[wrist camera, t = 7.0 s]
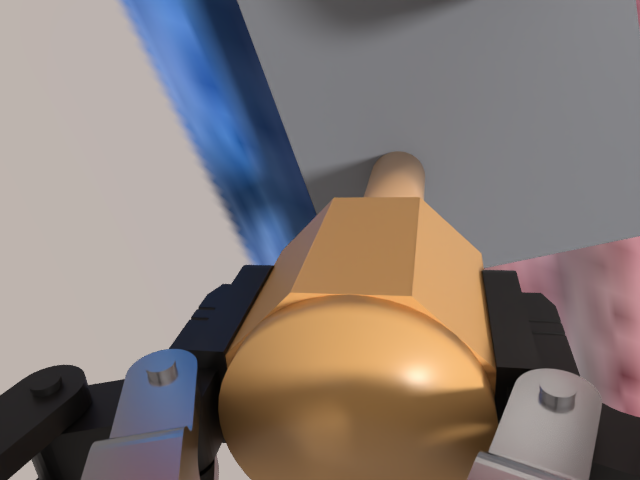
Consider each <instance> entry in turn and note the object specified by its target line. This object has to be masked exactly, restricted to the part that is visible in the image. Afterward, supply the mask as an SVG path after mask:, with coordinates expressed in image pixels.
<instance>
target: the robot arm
mask: <svg viewBox="0 0 640 480" xmlns="http://www.w3.org/2000/svg"><path fill="white" fill-rule="evenodd" d="M273 268H274V266H271V265H244V266H243V267H242V269H241V270H240V272H239V273H238V275H237V276H236V278H235V279H234V281H233V282H232V284H222V285H221V286H220V287H218V288H216V289H215V290H214V291H212V292H211V293H209V294H208V295H207V296H206V298H205V299H204V300H203V302H202V303H201V304H200V306H199V309H198V310H196V311H195V313H194V314H193V316H192V317H191V320H189V321H188V323H187V324H186V325H185V327H184V328H183V330H182V331H181V332H180V334H179V335H178V337H177V338H176V340H175V341H174V343H173V344H172V345H171V347H170V348H169V349H166V350H160V351H157V352H153V353H151V354H148V355H146V356H144V357H142V358H141V359H139V360H138V361H136V362H135V363H134V364H133V365H132V366H131V367H130V368H129V370H128V371H127V374H126V377H125V379H123V380H118V381H111V382H105V383H99V384H93V385H88V384H87V380H86V377H85V374H84V372H83V370H82V369H80V368H79V367H76V366H72V365H58V366H52V367H48V368H45V369H42V370H39V371H37V372H35V373H33V374H31V375H29V376H27V377H26V378H24V379H23V380H21V381H20V382H18V383H17V384H16V385H14V386H13V387H12V388H10V389H9V390H7V391H6V392H5V393H3V394H2V395H0V480H8V479H9V478H10V477H11V476H12V475H13V474H15V473H16V472H17V471H18V470H19V469H21V468H22V467H23V466H24V465H25V464H26V463H27V462H29V461H30V460H31V459H32V462H33V464H34V467H35V470H36V472H37V474H38V477H39V478H38V479H36V480H218V477H219V476H218V475H219V466H218V460H217V455H216V454H217V452H218V450H219V448H220V445H221V443H226V441H225V439H224V437H223V433H222V429H221V426H220V420H219V412H218V405H219V393H220V389H221V384H222V381H223V379H224V376H225V374H226V372H227V369H228V368H227V363H226V357H225V355H226V353H227V351H228V349H229V348H230V346H231V344H232V342H233V340H234V339H235V337H236V335H237V333H238V331H239V329H240V328H241V326H242V324H243V322H244V320H245V319H246V317H247V315H248V313H249V311H250V310H251V308H252V306H253V304H254V302H255V301H256V299H257V297H258V295H259V293H260V292H261V290H262V288H263V286H264V284H265V283H266V281H267V279H268V277H269V275H270V273H271V272H272V270H273ZM482 275H483V281H484V288H485V295H486V302H487V309H488V316H489V323H490V329H491V336H492V343H493V350H494V357H495V364H496V384H495V405H496V411H497V419H498V428H497V431H496V433H495V436H494V439H493V441H492V444H491V446H490V449H489V451H488V452H486V451H483V450H481V451H480V452H479V453H478V455H477V457H476V459H475V461H474V464H473V466H472V468H471V471H470V473H469V476H468V478H467V480H640V417H636V416H632V415H629V414H626V413H623V412H620V411H617V410H615V409H613V408H611V407H609V406H607V405H605V404H603V403H602V399H601V396H600V394H599V392H598V391H597V389H596V388H595V387H594V386H593V385H592V384H591V383H589V382H588V381H587V380H585V379H584V378H582V377H580V374H579V372H578V369H577V366H576V363H575V360H574V357H573V354H572V352H571V349H570V346H569V343H568V340H567V337H566V336H565V332H564V329H563V326H562V324H561V320H560V317H559V315H558V312H557V309H556V306H555V305H554V304H553V303H552V302H550V301H549V300H548V299H547V298H546V297H545V296H544V295H543V294H541V293H522V292H521V288H520V284H519V280H518V277H517V273H516V271H504V270H482Z"/></svg>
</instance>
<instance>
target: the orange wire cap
mask: <svg viewBox="0 0 640 480" xmlns="http://www.w3.org/2000/svg"><path fill="white" fill-rule="evenodd" d="M482 270H484V267H483V261H482V254H481V253H480V252H479V251H478V250H477V249H476V248H475V247H474V246H473V245H472V244H471V243H470V242H468V241H467V240H466V239H465V238H464V237H463V236H462V235H461V234H460V233H459V232H457V231H456V230H455V229H454V228H453V227H452V226H451V225H450V224H449V223H448V222H447V221H445V220H444V219H443V218H442V217H441V216H440V215H439V214H438V213H437V212H436V211H435V210H433V209H432V208H431V207H430V206H429V205H428V204H427V203H426V202H425V201H424V200H423V199H421V198H420V197H352V198H333V199H332V200H331V201H330V202H329V203H328V204H327V205H326V206H325V207H324V208H323V210H322V211H321V212H320V213H319V214H318V215H317V216H316V217H315V218H314V219H313V220H312V221H311V222H310V223H309V224H308V225H307V226H306V227H305V228H304V229H303V230H302V231H301V232H300V233H299V234H298V235H297V236H296V237H295V238H294V239H293V240H292V241H291V242H290V243H289V244H288V245H287V246H286V247H285V249H284V250H282V252H281V254H280V256H279V258H278V259H277V261H276V263H275V265H274V268H273V270H272V272H271V273H270V275H269V277H268V279H267V281H266V283H265V284H264V286H263V288H262V290H261V292H260V293H259V295H258V297H257V299H256V301H255V302H254V304H253V306H252V308H251V310H250V311H249V313H248V315H247V317H246V319H245V320H244V322H243V324H242V326H241V328H240V329H239V331H238V333H237V335H236V337H235V339H234V340H233V342H232V344H231V346H230V348H229V349H228V351H227V353H226V355H225V357H226V363H227V368H228V369H227V372H226V374H225V376H224V379H223V381H222V384H221V389H220V393H219V405H218V412H219V420H220V426H221V429H222V433H223V437H224V439H225V441H226V443H227V446H228V448H229V450H230V452H231V453H232V455H233V457H234V458H235V460H236V462H237V463H238V465H239V466H240V467H241V468H242V469H243V471H244V472H245V473H246V475H247V476H248V477H249V478H250V479H251V480H467V478H468V476H469V473H470V471H471V468H472V466H473V464H474V461H475V459H476V457H477V455H478V453H479V452H480V451H481V450H483V451H486V452H488V451H489V449H490V446H491V444H492V441H493V439H494V436H495V433H496V431H497V428H498V419H497V411H496V405H495V384H496V364H495V357H494V350H493V343H492V336H491V329H490V323H489V316H488V309H487V302H486V295H485V288H484V281H483V275H482Z"/></svg>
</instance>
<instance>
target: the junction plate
mask: <svg viewBox="0 0 640 480" xmlns="http://www.w3.org/2000/svg"><path fill="white" fill-rule="evenodd" d="M237 2H238V4H239V7H240V10H241V12H242V15H243V18H244V20H245V23H246V26H247V28H248V31H249V34H250V36H251V39H252V42H253V45H254V47H255V50H256V53H257V55H258V58H259V61H260V63H261V66H262V69H263V71H264V74H265V77H266V79H267V82H268V85H269V88H270V90H271V93H272V96H273V98H274V101H275V104H276V106H277V109H278V112H279V114H280V117H281V120H282V122H283V125H284V128H285V130H286V133H287V136H288V139H289V141H290V144H291V147H292V149H293V152H294V155H295V157H296V160H297V163H298V165H299V168H300V171H301V173H302V176H303V179H304V182H305V184H306V187H307V190H308V192H309V195H310V198H311V200H312V203H313V206H314V208H315V211H316V214H317V215H318V214H319V213H320V212H321V211H322V210H323V208H324V207H325V206H326V205H327V204H328V203H329V202H330V201H331V200H332V199H333V198H352V197H420V198H421V199H423V200H424V201H425V202H426V203H427V204H428V205H429V206H430V207H431V208H432V209H433V210H435V211H436V212H437V213H438V214H439V215H440V216H441V217H442V218H443V219H444V220H445V221H447V222H448V223H449V224H450V225H451V226H452V227H453V228H454V229H455V230H456V231H457V232H459V233H460V234H461V235H462V236H463V237H464V238H465V239H466V240H467V241H468V242H470V243H471V244H472V245H473V246H474V247H475V248H476V249H477V250H478V251H479V252H480V253H481V254H482V261H483V267H484V268H488V267H492V266H497V265H502V264H507V263H512V262H517V261H521V260H526V259H531V258H536V257H541V256H546V255H550V254H555V253H560V252H565V251H570V250H575V249H580V248H584V247H589V246H594V245H599V244H604V243H609V242H613V241H618V240H623V239H628V238H633V237H638V236H640V31H639V23H638V15H637V7H636V0H237Z"/></svg>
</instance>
